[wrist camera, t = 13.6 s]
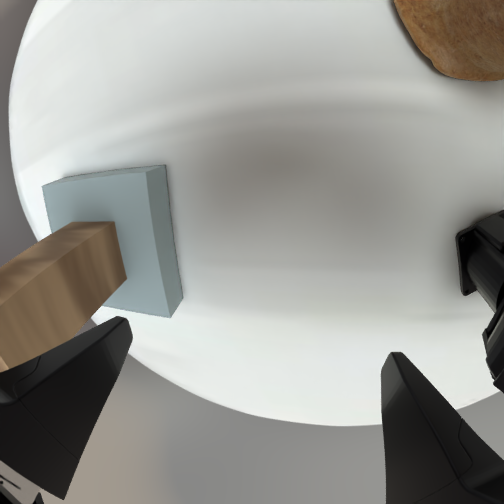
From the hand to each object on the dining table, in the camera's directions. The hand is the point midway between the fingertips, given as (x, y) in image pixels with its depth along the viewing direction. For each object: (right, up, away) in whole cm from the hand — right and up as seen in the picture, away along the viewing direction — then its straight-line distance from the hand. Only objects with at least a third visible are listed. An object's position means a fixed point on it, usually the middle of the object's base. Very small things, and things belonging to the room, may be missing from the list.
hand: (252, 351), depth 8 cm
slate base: (-12, +5, +15) cm, 20 cm away
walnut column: (-13, +3, +12) cm, 18 cm away
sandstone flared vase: (+18, +20, +2) cm, 27 cm away
